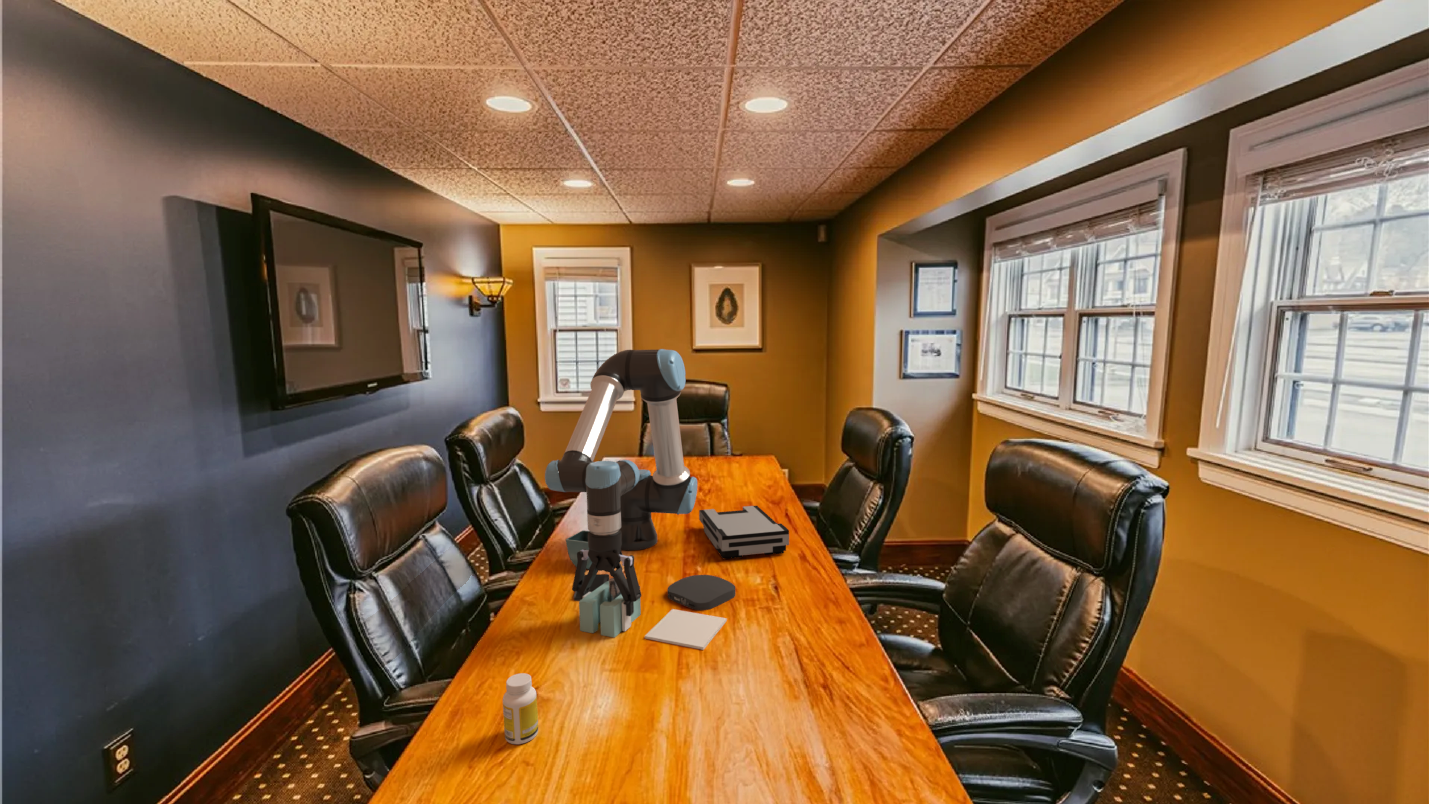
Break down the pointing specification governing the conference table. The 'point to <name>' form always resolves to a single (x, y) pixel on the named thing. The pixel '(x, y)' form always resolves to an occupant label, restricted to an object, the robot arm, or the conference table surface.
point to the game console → (744, 532)
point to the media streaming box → (701, 591)
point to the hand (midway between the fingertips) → (607, 624)
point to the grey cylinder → (613, 590)
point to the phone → (594, 584)
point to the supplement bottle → (520, 709)
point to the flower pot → (578, 546)
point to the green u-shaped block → (603, 612)
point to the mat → (686, 629)
